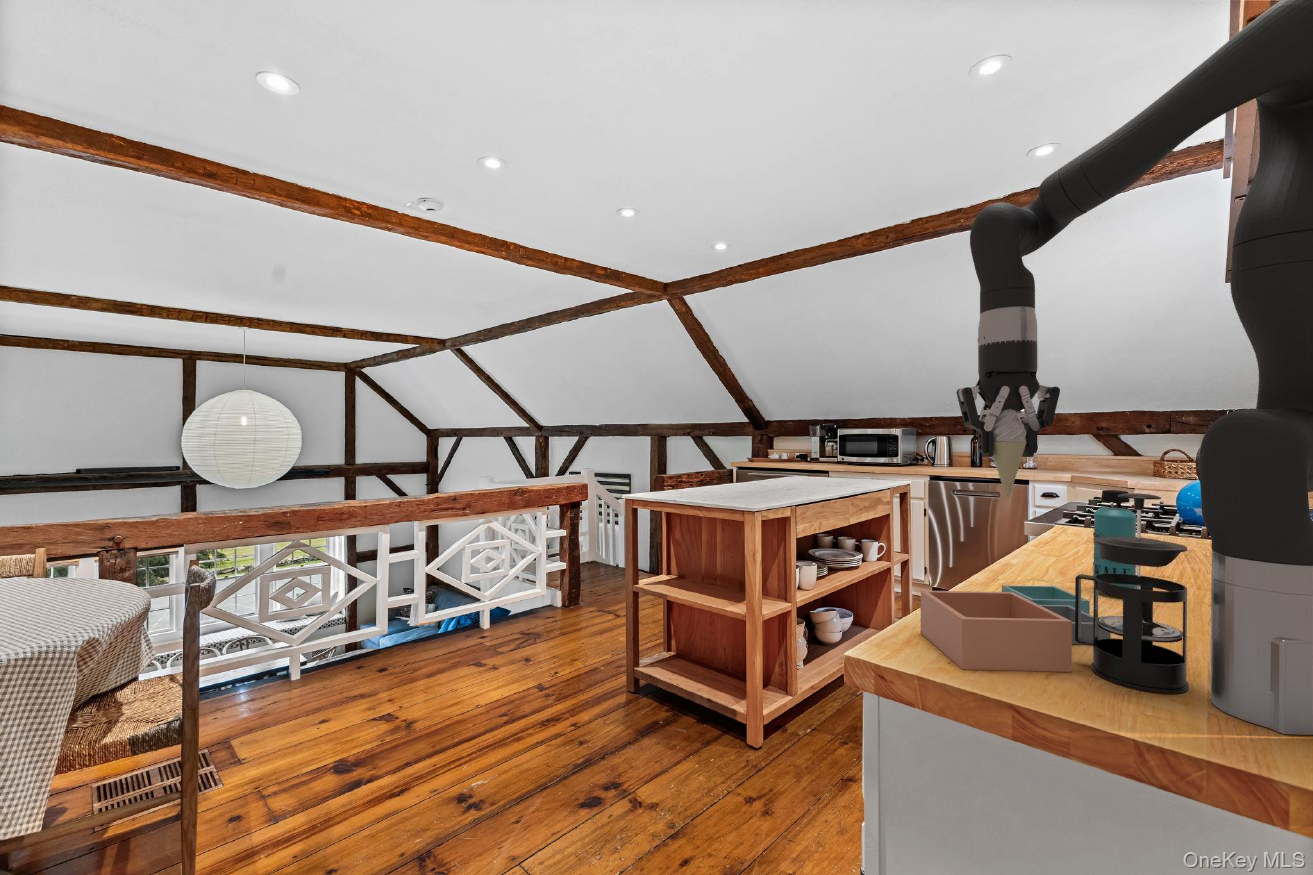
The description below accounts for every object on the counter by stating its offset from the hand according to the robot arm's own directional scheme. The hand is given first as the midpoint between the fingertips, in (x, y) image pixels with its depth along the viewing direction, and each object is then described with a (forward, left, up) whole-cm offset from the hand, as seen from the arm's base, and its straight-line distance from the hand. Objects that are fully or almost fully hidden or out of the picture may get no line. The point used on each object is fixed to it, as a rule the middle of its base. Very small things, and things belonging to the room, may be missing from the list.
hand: (1007, 456), depth 86 cm
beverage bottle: (+24, -32, -27) cm, 48 cm away
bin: (-5, +5, -27) cm, 28 cm away
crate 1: (+15, -14, -27) cm, 34 cm away
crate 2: (+3, -9, -27) cm, 29 cm away
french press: (-13, -9, -27) cm, 31 cm away
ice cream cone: (0, 0, -6) cm, 6 cm away
